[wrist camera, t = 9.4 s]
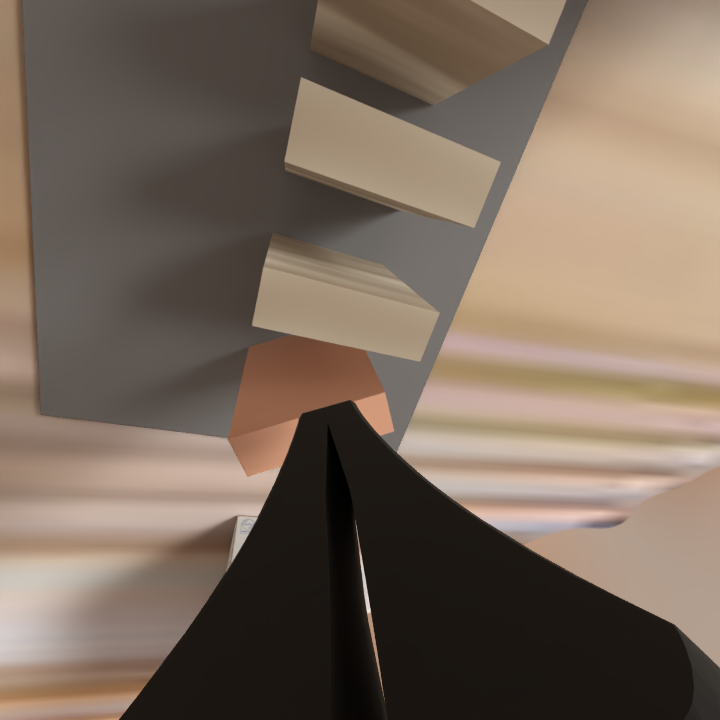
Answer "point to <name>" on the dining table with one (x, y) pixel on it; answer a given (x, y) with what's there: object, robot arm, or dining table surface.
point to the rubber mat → (219, 197)
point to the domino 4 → (298, 395)
